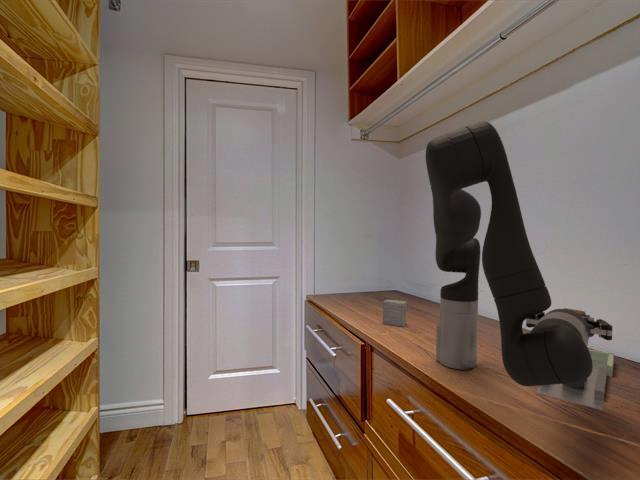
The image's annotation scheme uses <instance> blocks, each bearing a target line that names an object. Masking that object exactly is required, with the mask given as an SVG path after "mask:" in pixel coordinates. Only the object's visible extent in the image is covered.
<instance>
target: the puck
mask: <svg viewBox="0 0 640 480" xmlns="http://www.w3.org/2000/svg"><path fill="white" fill-rule="evenodd" d="M564 385H565V386H568V387H571V388H575V389H583V388H584V380H583V381H581V382H576V383H567V384H565V383H564Z"/></svg>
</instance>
